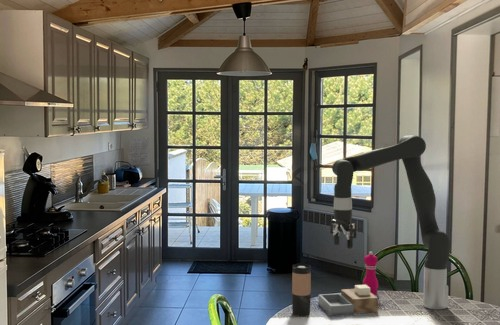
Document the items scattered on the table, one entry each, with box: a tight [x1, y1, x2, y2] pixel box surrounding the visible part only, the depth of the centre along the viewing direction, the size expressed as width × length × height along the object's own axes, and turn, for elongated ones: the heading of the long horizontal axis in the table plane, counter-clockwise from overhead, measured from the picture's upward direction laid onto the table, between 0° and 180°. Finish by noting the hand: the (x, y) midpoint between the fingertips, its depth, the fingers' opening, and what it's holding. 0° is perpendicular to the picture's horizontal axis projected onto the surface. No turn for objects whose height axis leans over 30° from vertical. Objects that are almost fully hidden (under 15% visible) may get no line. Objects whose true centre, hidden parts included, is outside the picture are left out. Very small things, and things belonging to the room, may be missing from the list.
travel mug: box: [291, 263, 312, 317], centre depth 231 cm, size 8×8×20 cm
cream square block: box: [354, 284, 370, 295], centre depth 240 cm, size 5×5×3 cm
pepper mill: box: [362, 251, 379, 296], centre depth 258 cm, size 7×7×20 cm
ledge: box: [340, 288, 379, 314], centre depth 240 cm, size 11×14×6 cm
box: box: [317, 292, 355, 317], centre depth 238 cm, size 10×16×4 cm, turn 11°
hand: (343, 246), depth 234 cm, fingers open, 8 cm apart
